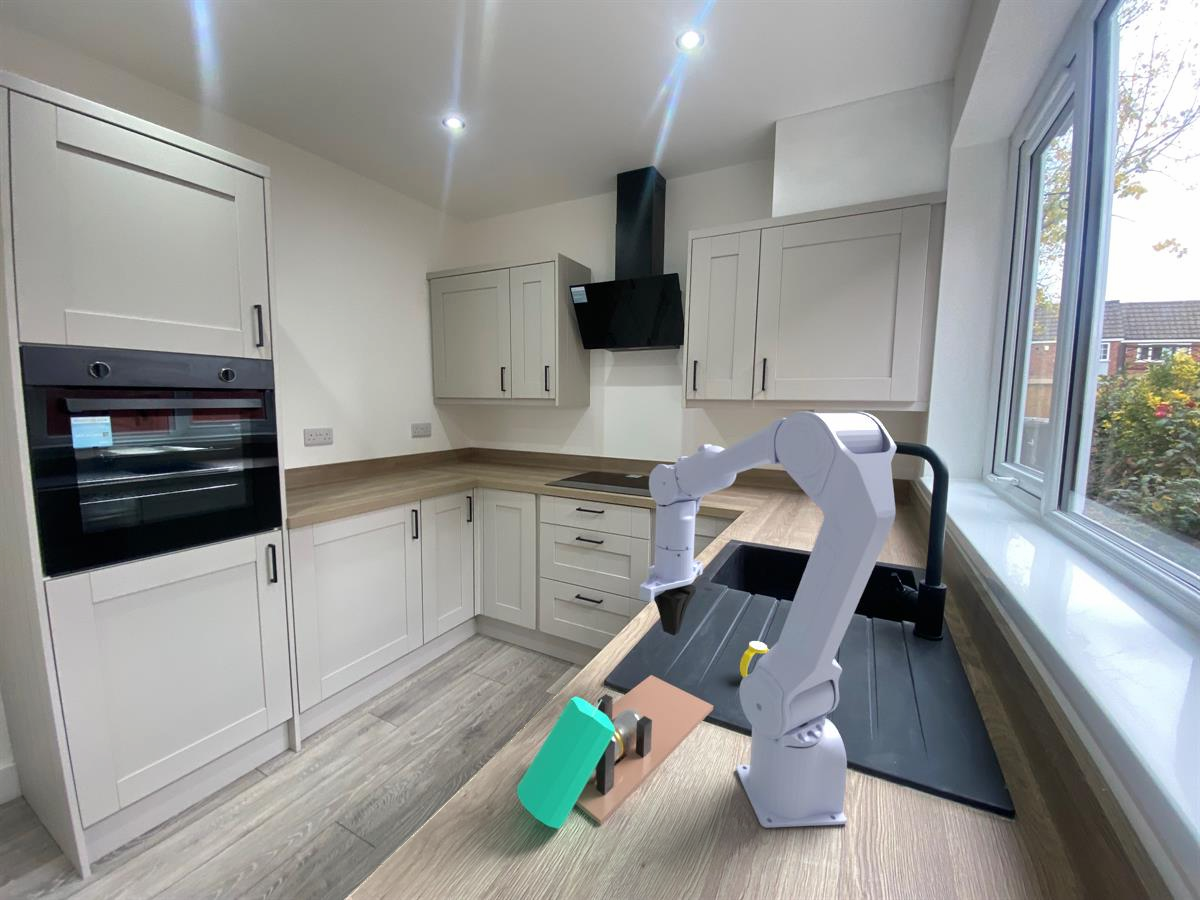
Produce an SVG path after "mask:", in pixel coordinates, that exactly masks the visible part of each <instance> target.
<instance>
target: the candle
mask: <svg viewBox="0 0 1200 900" xmlns="http://www.w3.org/2000/svg"><path fill="white" fill-rule="evenodd" d="M601 701H602V699H601V700H600V702H599V704H598V703H597V706H596V707H595V706H594V705H592V704H591V703H589V702H588V701H587V700H585V699H583V698H580V697H578V696H574V697H572V698H570V699H569V701H568V702H567V704H566V705H565V707H564V708H563V710H562V712H561V713H560V715H559V718H557V721H555V724H554V725H553V727H552V729H550V732H549V734H548V735H547V737H546V738H545V740H544V742H543V744H542V745H541V747H540V748H539V750H538V752H537V754H535V757H534V758H533V760H532V761H531V763H530V765H529V766H528V768H527V769H526V772H525V774H524V775H523V777H522V778H521V780H520V782H519V784H518V785H517V787H516V795H517V797H518V798H519V800H520V802H521V804H522V805H523V807H524V808H525V809H526V810H527V811H528V812H530V814H531V815H532V816H533V817H534V818H535V819H537V820H538V821H540V822H541V823H543V824H544V825H546V826H548V827H551V828H554V829H556V830H557V829H560V828H561V827H563V826H564V824H565V822H566V820H567V818H568V817H569V816H570V813H571V812H572V811H573V809H574V806H576V805H575V803H576V801H577V799H578V797H579V796H580V794H581V792H582V790H583V789H584V787H585V785H586V783H587V781H588V780H589V778H590V776H591V774H592V773H593V771H594V769H595V767H596V765H597V764H598V762H599V760H600V758H601V757H602V755H603V753H604V751H605V749H606V748H607V746H608V744H609V742H610V741H611V739H612V737H613V735H614V733H615V729H614V726H613V724H612V723H611V721H610V719H609V718H608V716H607V715H606V714H604V713H602V712H601V711H599V710H598V706H599V705H600V703H601Z"/></svg>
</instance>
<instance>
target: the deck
mask: <svg viewBox="0 0 1200 900" xmlns="http://www.w3.org/2000/svg"><path fill="white" fill-rule="evenodd" d="M626 709H633V710H635V711H637V712H638V713H639V714H640V715H641V717H643V716H646V717H647V718H649V719H651V720H652V735H651V751H650V752H649V753H648V754H647V755H646V756H645V757H644V758H643V757H641V756H639V755H638V754H636V741H635V742H634V743H633V744H632V745H631V746H630V747H629V748H628V749H627V750H626V751H625V752H624V754H623V755H622V756H621V757H623V758H622V759H621V760H620V761H619V762H618V763H617V764H615V765H614V787H613V788H612V789H611V790H610V791H609V792H608V793H607V794H606V795H605V796H604V795H603V794H602V793H600V792H599V791H598V790H597V780H596V781H593V782H587V783H586V785H585V787H584V789H583V790H582V792H581V794H580V796H579V797H578V799H577V801H576V803H575V805H574V806H577V808H579V809H580V810H581V811H582V812H583V813H585V814H586V815H587V816H588V817H589V818H591V819H592V820H593V821H595V822H596V823H597V824H598V825H599V826H602V825H603V824H604V823H605V822H606V821H607V820H608V819H609V818H610V817H611V816H612V815H613V814H614V813H615V812H616V811H617V810H618V808H620V806H621V805H622V804H624V802H625V801H626V800H627V799H628V798H629V797H630V796H631V795H632V794H633V793H634V792H635V791H636V790H637V789H638V788H639V786H641V785H642V784H643V783H644V782H645V780H646V779H648V778H649V777H650V775H652V773H653V772H654V771H655V770H656V769H657V768H659V766H660V765H662V763H663V762H664V761H665V760H666V759H667V758H668V757H669V756H670V754H672V752H674V750H676V748H678V747H679V746H680V744H681V743H683V741H684V740H685V739H686V738H687V737H688V736H689V735H690V734H691V733H692V732H693V731H694V730H695V729H696V728H697V726H699V725H700V724H701V722H703V721H704V720H705V719H706V717H707V716H708V715H709V714H710V713H711V712H713V710H714V705H713V704H711V703H710V702H707V701H705V700H703V699H701V698H699V697H697V696H695V695H693V694H691V693H689V692H686V691H685V690H682V689H680V688H679V687H677V686H674V685H673V684H670V683H668V682H666V681H664V680H663V679H660V678H659V677H656V676H654V675H652V674H651V675H649V676H648V677H646V678H645V679H644V680H642V681H641V682H640V683H639V684H637V685H636V686H635V687H633V688H632V689H631V690H629V691H628V692H627V693H626V694H624V695H623V696H622V697H620V698H619V699H617V700H616V701H615V702H613V708H612V720H613V719H614V718H615V717H617V716H618V715H619V714H620V713H621V712H622V711H624V710H626Z"/></svg>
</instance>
